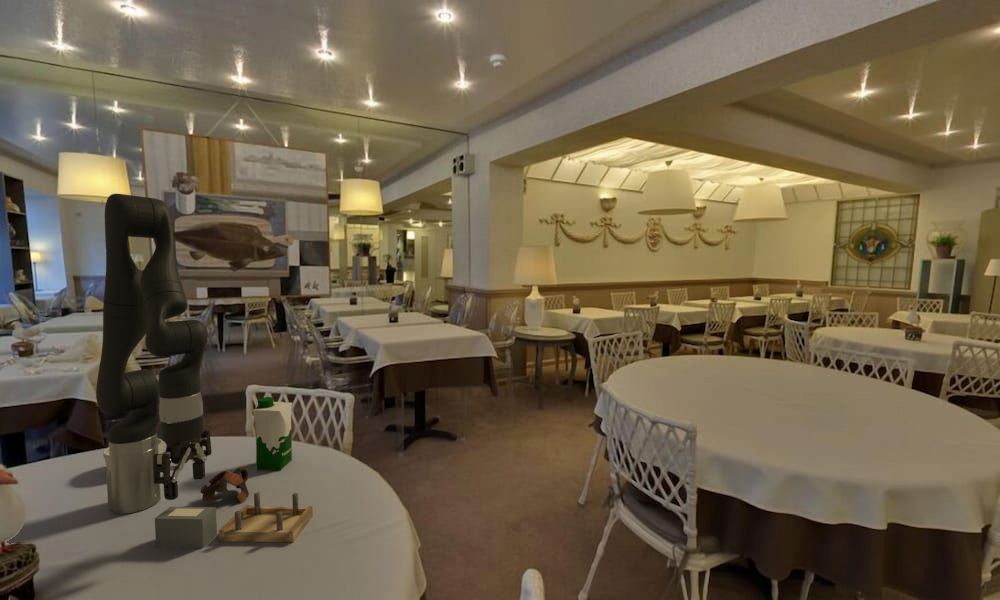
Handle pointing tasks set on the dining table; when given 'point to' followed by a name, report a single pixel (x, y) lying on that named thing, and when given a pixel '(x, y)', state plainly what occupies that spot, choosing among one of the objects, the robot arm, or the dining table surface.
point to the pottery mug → (221, 481)
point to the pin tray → (266, 523)
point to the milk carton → (273, 434)
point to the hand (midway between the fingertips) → (186, 488)
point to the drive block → (186, 527)
